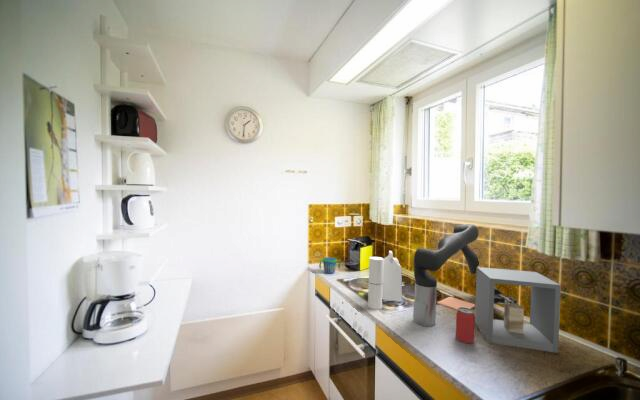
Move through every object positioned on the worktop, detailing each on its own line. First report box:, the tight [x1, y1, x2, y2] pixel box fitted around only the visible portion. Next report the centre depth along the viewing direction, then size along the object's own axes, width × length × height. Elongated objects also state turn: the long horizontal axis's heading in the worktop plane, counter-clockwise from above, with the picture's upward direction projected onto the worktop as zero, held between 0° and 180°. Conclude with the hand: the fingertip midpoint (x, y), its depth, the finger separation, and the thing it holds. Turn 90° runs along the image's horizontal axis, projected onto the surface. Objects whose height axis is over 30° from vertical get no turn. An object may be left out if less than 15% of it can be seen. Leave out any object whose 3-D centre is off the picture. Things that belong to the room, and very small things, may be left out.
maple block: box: [503, 302, 525, 334], centre depth 109 cm, size 5×5×10 cm
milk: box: [382, 250, 403, 302], centre depth 148 cm, size 12×12×26 cm
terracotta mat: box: [436, 296, 475, 311], centre depth 141 cm, size 14×14×1 cm
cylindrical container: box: [367, 256, 384, 310], centre depth 136 cm, size 7×7×25 cm
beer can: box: [455, 307, 476, 344], centre depth 106 cm, size 7×7×12 cm
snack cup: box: [318, 256, 341, 275], centre depth 193 cm, size 16×10×10 cm
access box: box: [474, 266, 562, 354], centre depth 110 cm, size 18×23×26 cm
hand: (503, 305), depth 119 cm, fingers open, 8 cm apart
